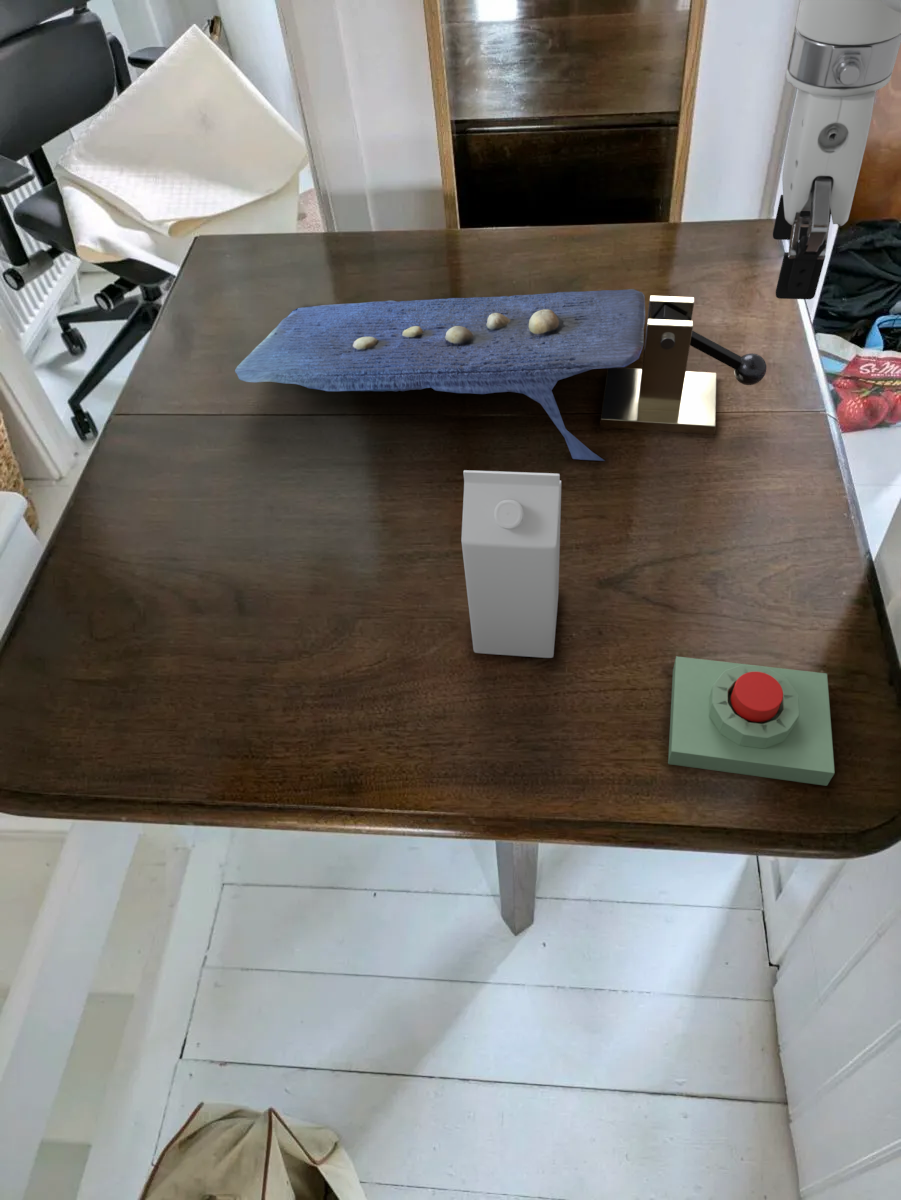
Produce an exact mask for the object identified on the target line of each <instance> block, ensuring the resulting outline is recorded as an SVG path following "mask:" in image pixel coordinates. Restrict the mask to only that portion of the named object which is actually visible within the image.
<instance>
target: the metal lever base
mask: <svg viewBox="0 0 901 1200" xmlns="http://www.w3.org/2000/svg"><path fill="white" fill-rule="evenodd" d="M664 305H666V306H668V307H670V308H672V309H674V310H675V311H677V312H679V313H681V314H683V315H685V316H686V317H688V320H664V319H654V318H655V317H656V316H657V314H658V313H659V312H660V310H661V309H662V308H663V307H664ZM694 306H695V297H694V296H673V295H671V296H669V295H649V303H648V309H647V310H648V311H647V319H646V329H645V337H644V345H643V347H644V348H643V357H642V365H641V368H634V367H633V368H632V367H616V368H607V370H606V378H605V385H604V392H603V400H602V407H601V412H600V413H601V414H600V424H599V427H600V428H608V429H624V430H636V431H637V430H639V431H652V432H653V431H655V432H666V433H667V432H669V433H684V434H698V435H699V434H700V435H715V431H716V427H717V425H716V421H717V375H718V373H717V372H708V371H707V372H706V371H691V370H690V371H689V370H687V366H688V360H689V355H690V354H689V353H690V348H691V346H690V342H691V336H692V331H694V330H693V328H694V321H693V313H694Z"/></svg>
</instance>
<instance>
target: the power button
mask: <svg viewBox="0 0 901 1200" xmlns="http://www.w3.org/2000/svg"><path fill="white" fill-rule="evenodd" d="M782 700H783V690H782V688H781V686H780V684H779V683H778V681H777V680H776V679H774V678H773V677H772V676H770V675H768V674H766V673H762V672H748V673H745V674H743V675H742V676H740V677H739V678H738V679H737V681H736V683H735V686H734V688H733V691H732V695H731V704H732V707H733V708H734V710H735V711H736V713H737V714H738V715H740V716H741V717H742V718H744V719H746V720H748V721H752V722H765V721H768V720H770V719H772V718H773V717H774V716H775V715H776V713H777V712H778V709H779V707H780V705H781V702H782Z"/></svg>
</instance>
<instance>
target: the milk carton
mask: <svg viewBox="0 0 901 1200" xmlns="http://www.w3.org/2000/svg"><path fill="white" fill-rule="evenodd" d="M560 479H561V475H560V473H555V472H554V473H552V472H550V473H549V472H526V471H525V472H524V471H499V470H470V469H469V470H467V469H464V470H463V499H462V501H463V502H462V517H461V518H462V520H461V538H460V539H461V540H460V541H461V549H462V560H463V568H464V579H465V586H466V595H467V603H468V605H467V606H468V613H469V621H470V631H471V632H470V633H471V641H472V650H473V652H474V653H475V654H486V655H498V656H499V655H501V656H512V657H530V658H543V659H553V658H554V656H555V655H554V654H555V641H556V631H557V630H556V629H557V620H558V619H557V616H558V606H559V605H558V603H559V589H560V588H559V587H560V586H559V585H560V553H561V550H560V549H561V513H562V480H560Z"/></svg>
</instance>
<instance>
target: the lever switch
mask: <svg viewBox="0 0 901 1200" xmlns="http://www.w3.org/2000/svg"><path fill="white" fill-rule="evenodd" d="M654 319H664V320H688V317H686V316H685V315H683V314H681V313H679V312H677V311H675V310H674V309H672V308H670V307H668V306H666V305H664V307H663V308H662V309H661V310H660V312H659V313H658V314H657V316H656V317H655V318H654ZM690 347H693V348H694V349H696V350H697V351H700V352H701V353H703V354H705V355H707V356H709V357H711V358H713V359H714V360H717V361H718V362H720V363H722V364H724V365H726V366H728V367H730V368H731V369H733V374H734V375H733V376H734V377H735V380H736V381H737V382H738V383H739V384H741V385H744V386H753V385H756V384H758V383H760V382H761V381H763V379H764V378H765V376H766V373H767V362H766V360H765V359H764V358H763V357H762V356H761V355H760V354H757V353H753V352H752V353H746V354H744V355H742V356H741V355H739V354H737V353H735V352H733V351H731V350H730V349H728V348H726V347H724V346H722V345H720V344H719V343H717V342H715V341H714V340H711V339H709V338H707V337H705V336H703V335H702V334H700V333H698V332H696V331H695V330H692V336H691V342H690Z"/></svg>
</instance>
